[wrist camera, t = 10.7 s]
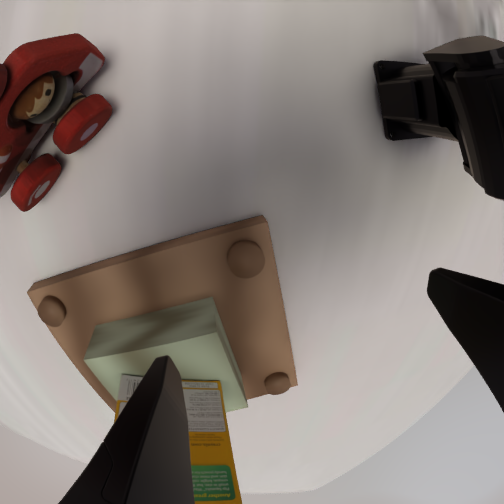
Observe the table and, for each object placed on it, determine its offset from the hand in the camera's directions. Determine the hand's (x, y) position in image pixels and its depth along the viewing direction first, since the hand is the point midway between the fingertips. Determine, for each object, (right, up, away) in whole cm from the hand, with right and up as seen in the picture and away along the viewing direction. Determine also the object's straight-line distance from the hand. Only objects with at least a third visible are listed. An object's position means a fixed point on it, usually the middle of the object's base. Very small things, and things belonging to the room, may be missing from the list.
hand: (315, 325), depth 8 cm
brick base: (-9, -6, +15) cm, 19 cm away
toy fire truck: (-16, +11, +7) cm, 21 cm away
